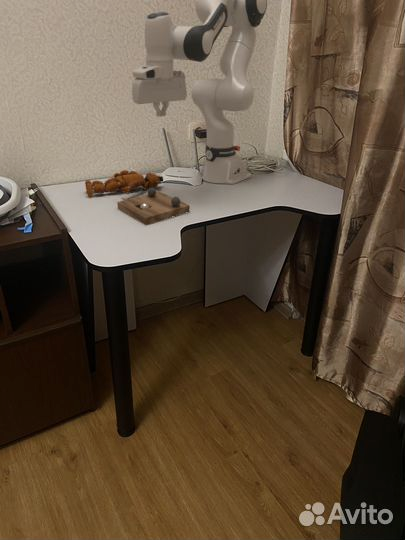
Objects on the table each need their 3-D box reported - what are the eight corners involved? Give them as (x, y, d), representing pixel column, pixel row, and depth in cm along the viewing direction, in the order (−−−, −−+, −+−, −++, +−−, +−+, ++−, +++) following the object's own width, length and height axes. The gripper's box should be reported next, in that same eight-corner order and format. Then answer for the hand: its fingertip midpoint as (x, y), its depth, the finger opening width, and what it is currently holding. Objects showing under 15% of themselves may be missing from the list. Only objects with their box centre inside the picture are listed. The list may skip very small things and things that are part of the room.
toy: (91, 207, 144) (170, 195, 153) (88, 188, 140) (169, 177, 149) (85, 190, 160) (156, 180, 169) (82, 173, 156) (155, 163, 165)
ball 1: (153, 194, 146) (152, 185, 144) (158, 196, 144) (157, 188, 142) (145, 195, 144) (145, 187, 142) (150, 198, 142) (150, 189, 140)
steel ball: (146, 209, 139) (145, 200, 137) (152, 212, 136) (151, 203, 134) (138, 212, 137) (136, 203, 135) (143, 216, 135) (142, 206, 133)
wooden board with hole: (159, 198, 150) (159, 191, 148) (189, 212, 138) (189, 205, 137) (117, 208, 139) (117, 202, 138) (146, 225, 128) (145, 217, 126)
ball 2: (176, 203, 138) (176, 194, 136) (182, 206, 136) (182, 197, 134) (169, 205, 136) (169, 196, 134) (174, 208, 134) (174, 199, 132)
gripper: (179, 69, 137) (179, 112, 144) (128, 71, 125) (131, 117, 132) (190, 71, 133) (190, 114, 140) (138, 72, 121) (141, 120, 128)
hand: (161, 116), depth 136 cm, fingers closed
